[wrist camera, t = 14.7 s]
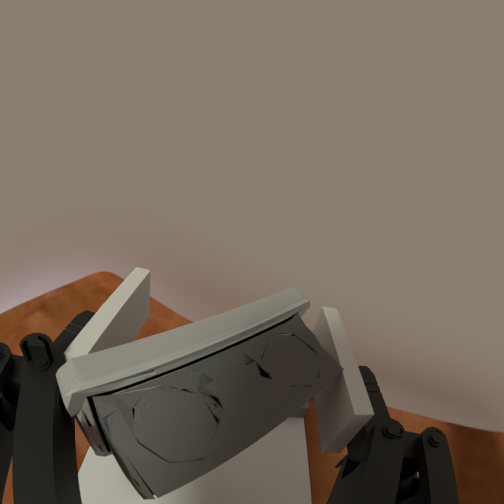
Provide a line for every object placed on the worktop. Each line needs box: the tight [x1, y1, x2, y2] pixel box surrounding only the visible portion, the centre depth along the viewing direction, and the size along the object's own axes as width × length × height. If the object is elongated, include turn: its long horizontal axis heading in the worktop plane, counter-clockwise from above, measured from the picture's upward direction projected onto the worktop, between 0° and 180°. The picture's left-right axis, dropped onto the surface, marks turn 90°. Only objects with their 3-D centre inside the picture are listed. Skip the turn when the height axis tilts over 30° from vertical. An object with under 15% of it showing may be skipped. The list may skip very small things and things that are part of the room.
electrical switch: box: [56, 287, 344, 500], centre depth 9 cm, size 9×5×9 cm, turn 134°
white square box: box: [78, 402, 312, 504], centre depth 14 cm, size 16×18×6 cm
